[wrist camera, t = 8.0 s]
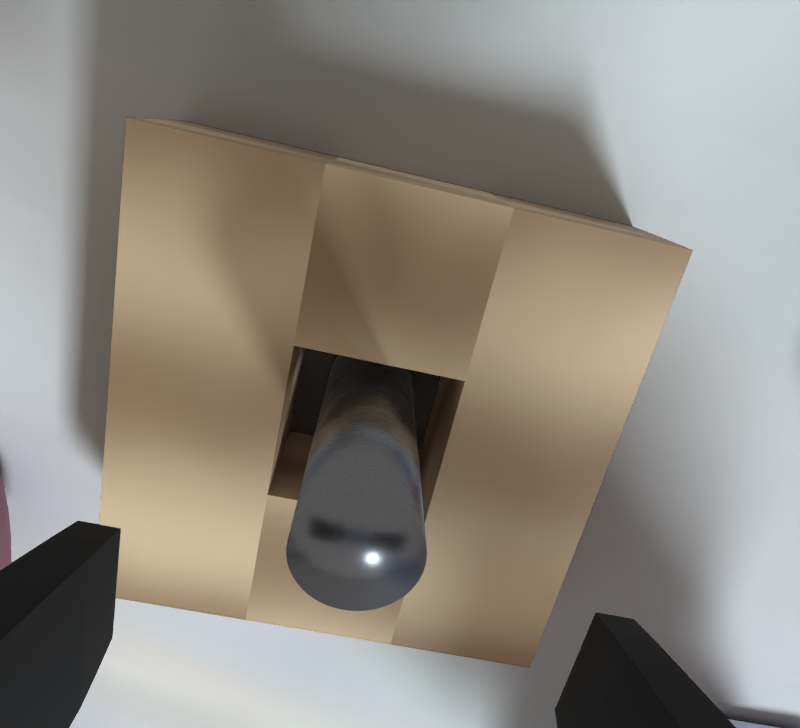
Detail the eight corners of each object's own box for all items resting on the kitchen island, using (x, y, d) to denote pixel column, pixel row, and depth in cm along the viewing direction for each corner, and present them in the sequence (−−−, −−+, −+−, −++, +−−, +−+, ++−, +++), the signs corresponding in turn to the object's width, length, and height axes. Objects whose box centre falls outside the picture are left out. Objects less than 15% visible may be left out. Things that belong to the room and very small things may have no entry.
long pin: (398, 425, 19) (403, 623, 11) (320, 405, 18) (272, 593, 11) (422, 353, 18) (445, 514, 10) (341, 330, 18) (304, 478, 10)
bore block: (507, 582, 21) (529, 667, 17) (144, 517, 20) (94, 594, 16) (633, 226, 17) (692, 249, 13) (182, 120, 16) (126, 116, 12)
